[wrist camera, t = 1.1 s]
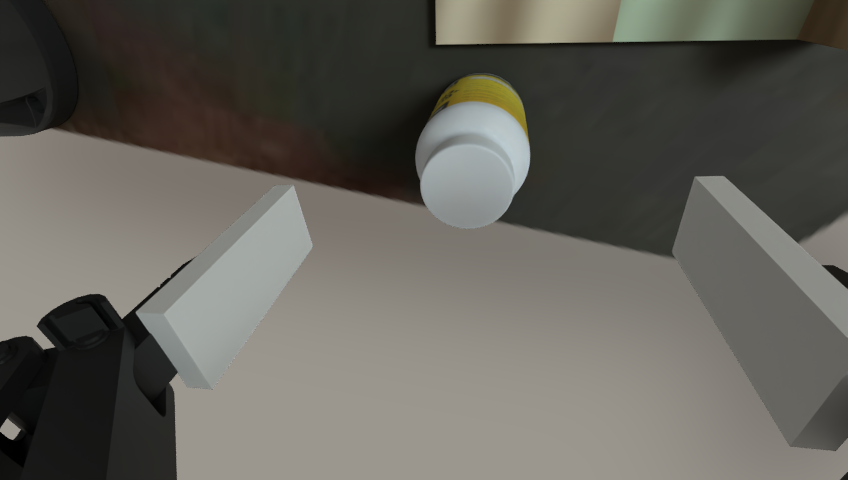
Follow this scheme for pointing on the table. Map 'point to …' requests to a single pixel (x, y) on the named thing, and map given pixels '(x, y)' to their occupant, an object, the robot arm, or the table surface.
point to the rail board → (640, 21)
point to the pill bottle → (473, 151)
